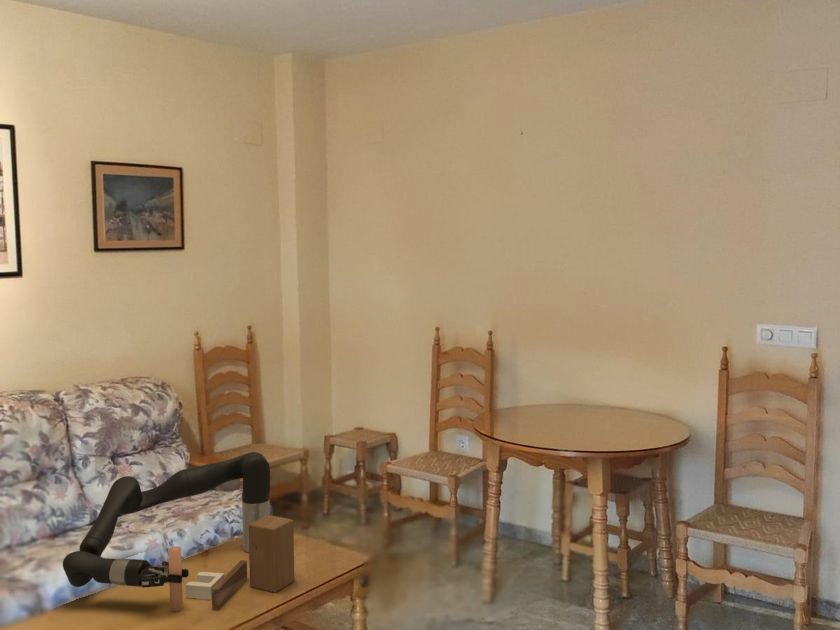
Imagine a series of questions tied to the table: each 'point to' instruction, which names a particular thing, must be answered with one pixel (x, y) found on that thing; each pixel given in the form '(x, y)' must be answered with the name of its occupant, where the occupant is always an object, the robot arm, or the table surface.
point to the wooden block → (271, 553)
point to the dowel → (175, 588)
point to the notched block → (203, 585)
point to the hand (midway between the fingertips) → (184, 576)
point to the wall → (229, 585)
